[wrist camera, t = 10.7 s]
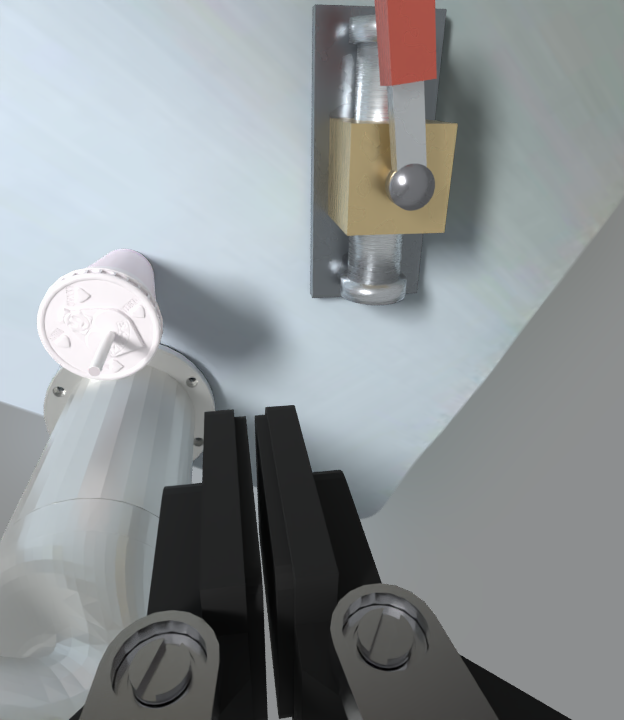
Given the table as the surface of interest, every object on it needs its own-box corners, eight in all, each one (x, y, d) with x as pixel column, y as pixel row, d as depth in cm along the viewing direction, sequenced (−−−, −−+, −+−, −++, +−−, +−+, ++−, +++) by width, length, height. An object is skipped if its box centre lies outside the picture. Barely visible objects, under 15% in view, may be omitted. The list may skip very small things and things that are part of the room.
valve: (412, 288, 41) (452, 328, 34) (310, 293, 40) (330, 335, 33) (440, 11, 33) (500, -10, 26) (312, 6, 31) (340, -17, 25)
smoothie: (153, 330, 39) (125, 441, 27) (64, 295, 37) (-11, 398, 24) (188, 253, 37) (174, 335, 25) (95, 211, 35) (29, 278, 22)
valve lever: (427, 202, 30) (441, 209, 28) (386, 209, 30) (397, 217, 28) (420, -42, 24) (436, -52, 23) (370, -35, 24) (382, -45, 23)
